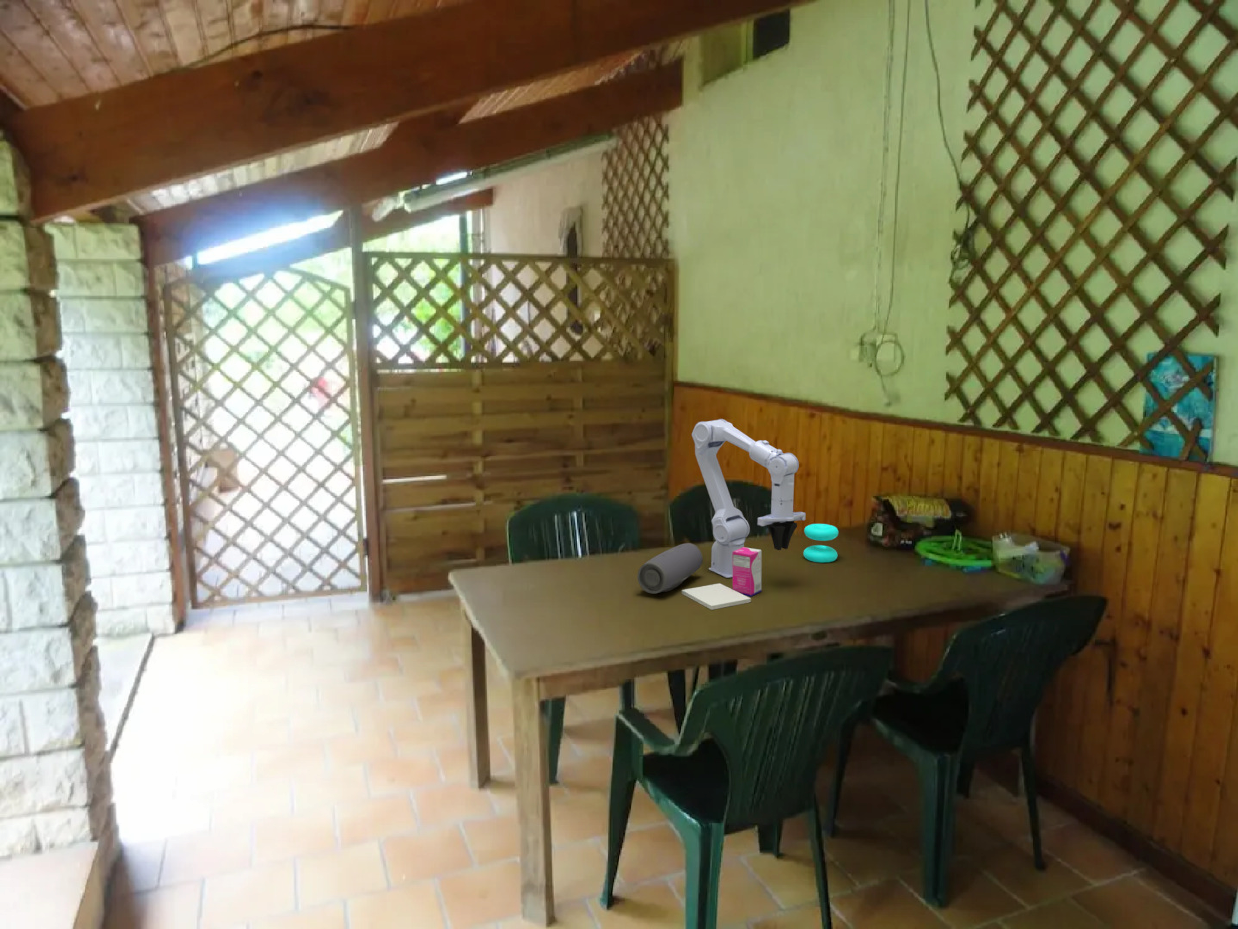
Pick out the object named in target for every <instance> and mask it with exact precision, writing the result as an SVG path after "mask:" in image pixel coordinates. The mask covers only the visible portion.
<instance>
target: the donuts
mask: <svg viewBox="0 0 1238 929" xmlns="http://www.w3.org/2000/svg"><path fill="white" fill-rule="evenodd" d="M803 532H804V534H805V536H806V537H807V538H809V539H810V540H815V541H820V542H821V541H822V542H825V541H832V540H834V539H836V538H837V537H838V536H839V530H838V527H836V526H835V525H832V524H831V525H830V524H827V523H811V524H808V525H807V526H805V528H804V530H803ZM803 557H804V558H805V559H806V560H808V561H810V562H814V563H821V564H822V563H824V564H826V563H831V562H834V561H836V560H837V558H838V552H837V550H836V549H834V548H833V547H831V546H828V545H822V544H816V545H815V544H814V545H810V546H807V547H806V548H805V549H804V550H803Z"/></svg>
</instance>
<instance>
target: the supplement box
mask: <svg viewBox="0 0 1238 929" xmlns="http://www.w3.org/2000/svg"><path fill="white" fill-rule="evenodd" d="M732 553H733V577H732V590H735V591H737V592H739V593H741V594H743V595H745V596H747V597H749V598H752V597H753V596H755V595H757V594H759V593H762V550H761V549H759V548H758V549H757V548H753V547H752V548H750V547H745V546H744V547H742V548H740V549H738V550H736V551H733V552H732Z"/></svg>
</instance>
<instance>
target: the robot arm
mask: <svg viewBox="0 0 1238 929" xmlns="http://www.w3.org/2000/svg"><path fill="white" fill-rule="evenodd" d="M733 425H734V424H733V423H731V422H729V421H727V420H725V419H723V418H719V419H714V420H709V421H698V422H697V423H696V424H695V425H694V428H693V430H692V433H691V437H692V440H693V443H694V454H695V458H696V461H697V464H698V466H699V469H700V472H701V475H702V478H703V480H704V483H705V486H706V489H707V493H708V495H709V498H710V501H711V503H712V507H713V510H714V516H712V519H711V524H712V535H713V537H714V540H715V541H714V542H713V544H712V546H711V567H709V568H708V570H709V571H711V572H713V573H714V574H715V573H716V574H717V575H719V576H722V577H724V578H728V579H731V578H733V553H732V552H733V551H736V550H738V549H740V548H742V547H745V542H746V538H747V537H748V536H749V534H750V529H751V528H750V524H749V522H748V520H746V518H745V517H744V514H743V512H742V511H741V510H740V509H738V508H737V507H735V505H734V504H733V501H732V498H731V495H730V491H729V489H728V486H727V483H726V480H725V477H724V475H723V471H722V468H721V466H720V463H719V460H718V458H717V454H718V452H719V450H720V448H722V446H723V445H724V443H725V442H726V441H727V442H728V443H730V444H732V445H734V446H737V447H738V448H740V449H741V450H744V451H746V452H747V453H748V454H749V458H750V459H751V460H753V461H754V462H756V463H758V464H759V465H761V466H763V467H764V468H766V469H767V470H768V473H769V474H770V481H771V504H770V506H771V507H770V508H771V509H770V514H766V515H764V516H760V517H757V526H760V527H765V526H766V528H767V529H768V532H769V534H770V537H771V540H772V544H773V549H775V550H778V551H781V550H782V549H785V550H788V549H789V545H790V542H791V539H792V537H793V534H794V533H795V531H796V529H797V528H798V523H797V522H796V521H805V520H806V512H803V511H796V512H795V511H794V493H795V491H794V490H795V489H794V488H795V473H797V472H798V471H799V470H798V469H799V466H800V465H799V464H800V463H799V460H798V458H797V457H796V455H794V454H793V453H791V452H785V453H784V452H783V450H782V449H780V448H778V449H777V448H775V447H774V446H772V445H770V442H769V441H767V440H761V439H760V440H757V441H756V440H754V439H753V438H751V437H749V436H748V435H747V434H745V433H744V432H742V431H741V430H739V429H737V427H734V426H733Z"/></svg>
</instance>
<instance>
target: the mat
mask: <svg viewBox="0 0 1238 929" xmlns="http://www.w3.org/2000/svg"><path fill="white" fill-rule="evenodd" d="M681 594H682V595H684V596H686V597H687V598H689V599H691V600H692V601H694V602H696V603H698V604H700V605H702V606H703V607H705V608H707V609H709V610H717V609H723V608H729V607H733V606H738V605H744V604H747V603H751V601H752V597H749V596H745V595H743V594H741V593H739V592H737V591H735V590H733V588H731V587H728V586H726V585H725V584H722V583H713V584H708V585H703V586H697V587H692V588H685V589H682V590H681Z"/></svg>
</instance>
